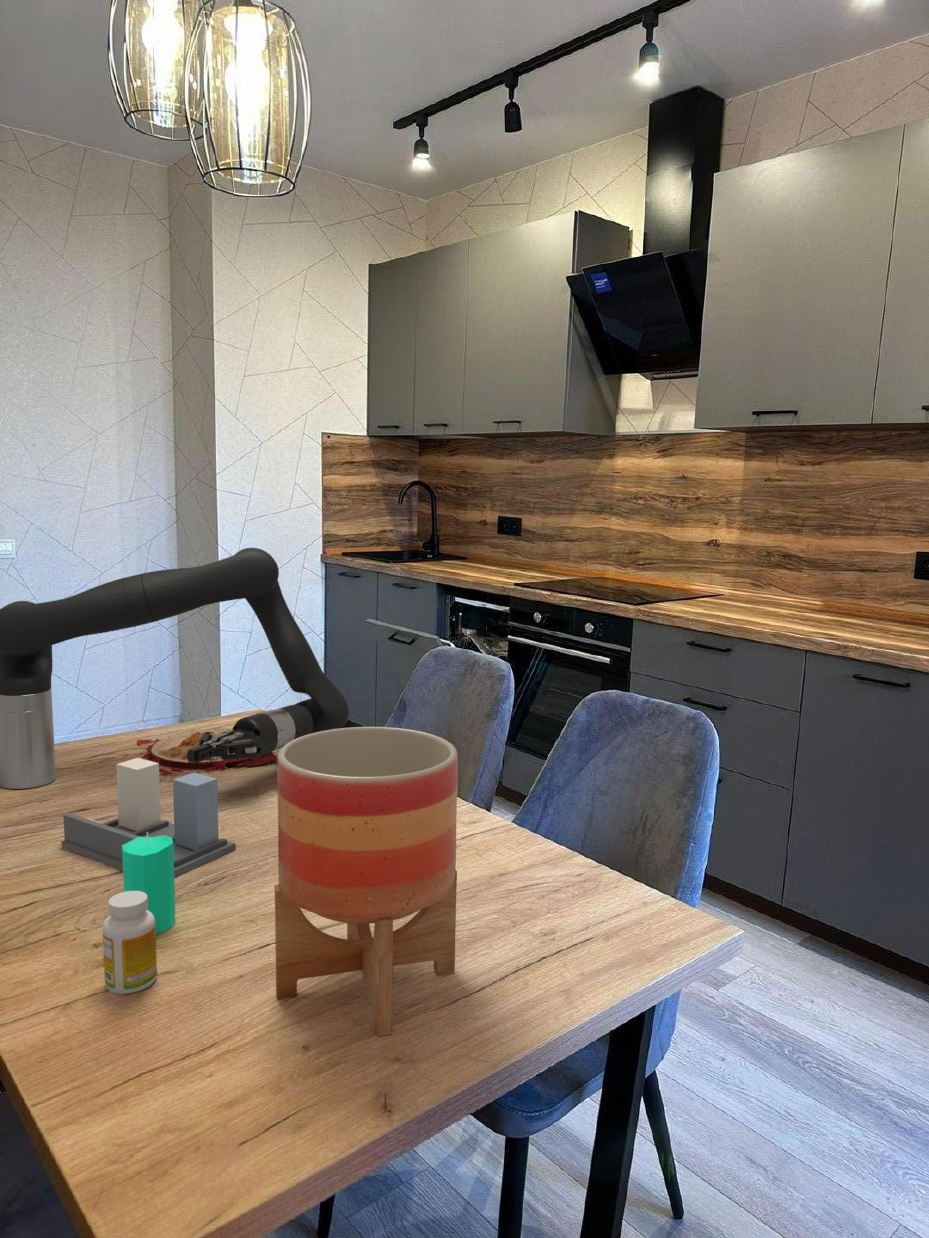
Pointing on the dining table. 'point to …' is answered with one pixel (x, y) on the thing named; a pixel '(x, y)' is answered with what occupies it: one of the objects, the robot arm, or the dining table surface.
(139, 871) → the candle
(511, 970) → the dining table surface
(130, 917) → the supplement bottle
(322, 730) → the robot arm
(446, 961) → the planter
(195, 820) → the slate blue key
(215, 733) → the plate with food
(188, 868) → the tray
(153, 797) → the ivory key
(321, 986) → the dining table surface
